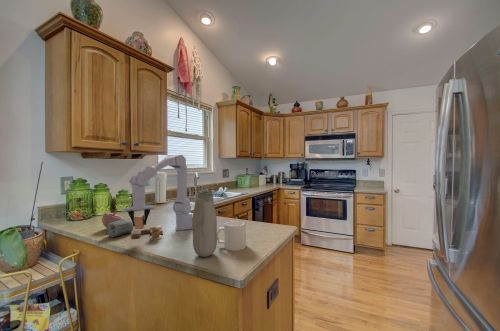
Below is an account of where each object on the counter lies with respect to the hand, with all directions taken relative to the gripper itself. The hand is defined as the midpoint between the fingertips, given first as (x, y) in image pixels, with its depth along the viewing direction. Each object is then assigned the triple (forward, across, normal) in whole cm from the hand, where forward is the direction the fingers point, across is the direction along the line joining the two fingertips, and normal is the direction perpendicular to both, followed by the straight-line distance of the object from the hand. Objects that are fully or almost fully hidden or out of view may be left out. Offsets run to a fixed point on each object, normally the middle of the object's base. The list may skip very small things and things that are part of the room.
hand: (139, 225), depth 118 cm
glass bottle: (+9, -24, +32) cm, 41 cm away
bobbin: (+8, -8, -2) cm, 12 cm away
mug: (+9, -38, +29) cm, 48 cm away
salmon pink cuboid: (+1, 0, 0) cm, 1 cm away
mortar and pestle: (+9, +13, -34) cm, 37 cm away
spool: (+9, +9, -18) cm, 22 cm away
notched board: (+8, -4, -11) cm, 15 cm away
